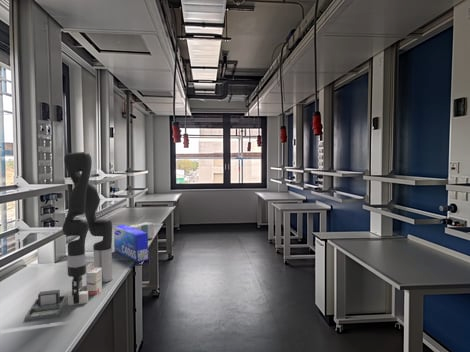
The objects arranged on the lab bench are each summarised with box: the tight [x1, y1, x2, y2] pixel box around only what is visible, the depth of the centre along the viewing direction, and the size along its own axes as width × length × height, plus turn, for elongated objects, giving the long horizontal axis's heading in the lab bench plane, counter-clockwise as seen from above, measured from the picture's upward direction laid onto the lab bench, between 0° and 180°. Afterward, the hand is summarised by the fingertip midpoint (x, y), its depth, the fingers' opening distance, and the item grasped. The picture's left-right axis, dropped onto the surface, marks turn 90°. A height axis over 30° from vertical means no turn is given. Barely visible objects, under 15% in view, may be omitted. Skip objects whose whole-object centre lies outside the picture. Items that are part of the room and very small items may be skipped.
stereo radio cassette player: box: [128, 214, 155, 240], centre depth 289 cm, size 21×8×20 cm, turn 148°
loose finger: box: [67, 290, 89, 306], centre depth 160 cm, size 4×8×6 cm, turn 107°
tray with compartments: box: [24, 295, 67, 322], centre depth 152 cm, size 20×12×3 cm, turn 18°
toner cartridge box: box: [113, 224, 149, 263], centre depth 242 cm, size 39×8×18 cm, turn 39°
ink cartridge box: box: [85, 261, 103, 296], centre depth 173 cm, size 9×5×15 cm, turn 4°
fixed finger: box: [37, 289, 61, 306], centre depth 157 cm, size 4×8×6 cm, turn 108°
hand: (77, 299), depth 159 cm, fingers open, 8 cm apart
